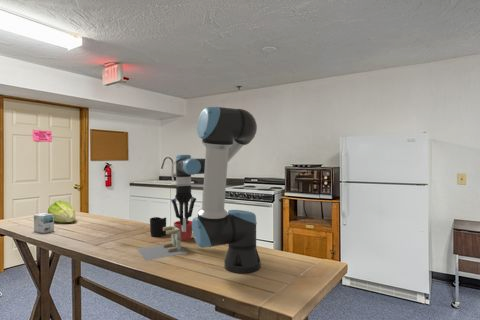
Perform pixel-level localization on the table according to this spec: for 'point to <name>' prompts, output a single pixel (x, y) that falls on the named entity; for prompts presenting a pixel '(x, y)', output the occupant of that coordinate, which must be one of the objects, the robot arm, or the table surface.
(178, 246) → the stool
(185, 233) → the flower pot
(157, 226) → the pen holder
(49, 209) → the lettuce
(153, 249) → the mat
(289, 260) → the table surface
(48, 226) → the light bulb box
